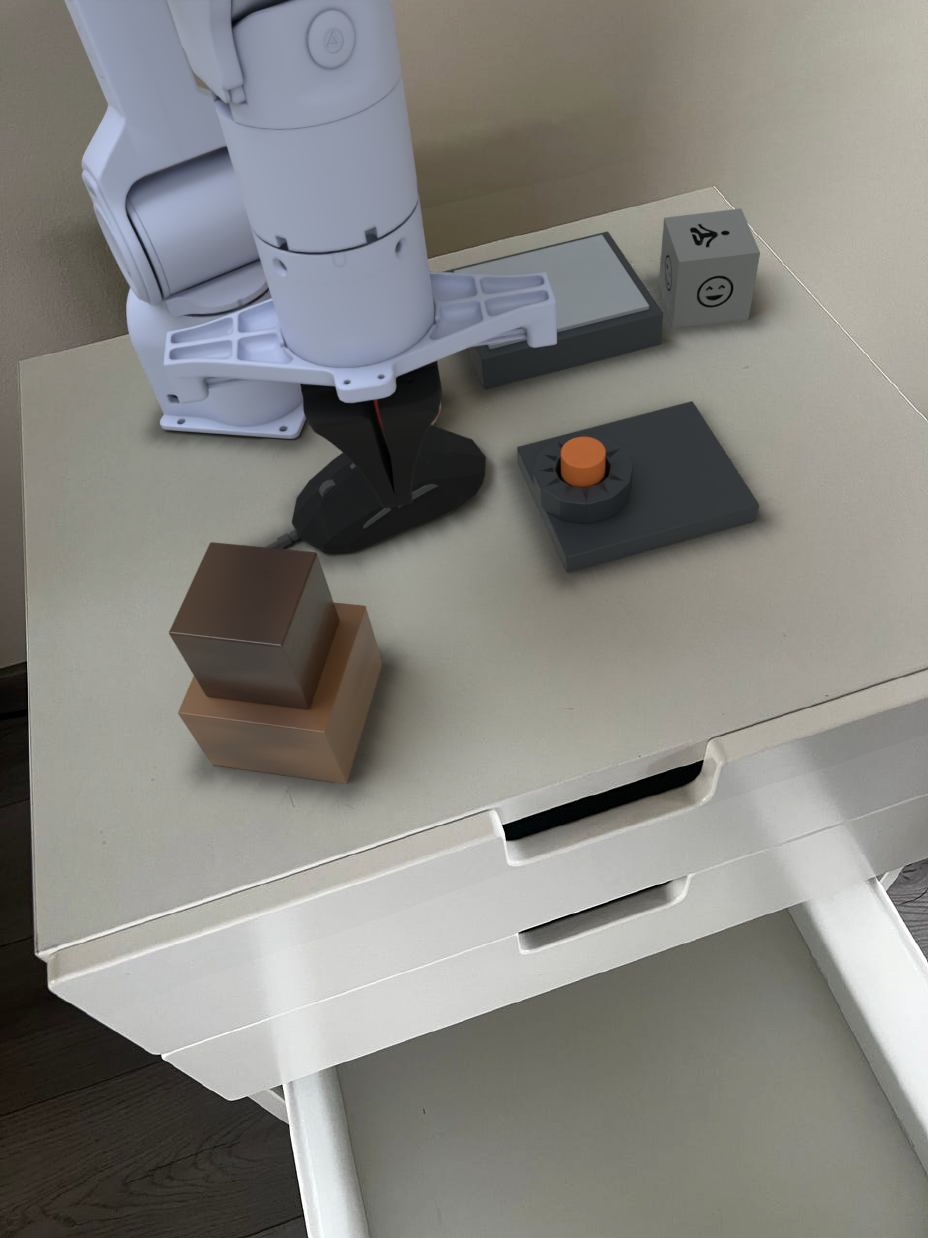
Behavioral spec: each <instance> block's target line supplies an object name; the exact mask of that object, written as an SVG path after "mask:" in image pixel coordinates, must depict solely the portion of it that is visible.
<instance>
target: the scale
mask: <svg viewBox="0 0 928 1238" xmlns="http://www.w3.org/2000/svg"><path fill="white" fill-rule="evenodd" d="M442 272H450V273H469V274H489V275H521V274H532V273H540V272H547V274H548V277H549V280H550V283H551V287H552V290H553V293H554V296H555V299H556V318H557V344H555V345H549V346H543V347H537V348H533V347H530V346H529V345H528V344H527V338H525V339H518V340H512V341H506V342H500V343H493V344H487V345H481V346H474V347H469V348H466V349H465V350H466V351H467V353H468V356H469V358H470V360H471V363H472V364H473V365H472V366H473V367H474V370H475V371H476V374H477V376H478V378H479V381H480V384H481V385H482V387H483V389H484V390H489V389H492V388H493V389H494V388H497V387H500V386H505V385H508V384H513V383H515V382H521V381H525V380H528V379H533V378H536V377H541V376H544V375H549V374H552V373H557V372H559V371H563V370H567V369H571V368H575V367H579V366H582V365H583V366H584V365H586V364H591V363H595V362H598V361H603V360H607V359H611V358H614V357H618V356H622V355H625V354H629V353H634V352H637V351H641V350H645V349H649V348H653V347H657V346H661V342H662V334H663V333H662V332H663V319H664V312H663V311H662V309H661V307H660V305H658V304H657V302H656V301H655V299H654V297H653V296H652V294H651V293H650V291H649V290H648V289H647V287H646V286H645V284H644V283H643V281H642V280H641V278H640V277H639V275H638V274H637V272H636V271H635V269H634V267H633V266H632V265H631V263H630V262H629V260H628V259H627V257H626V256H625V254H624V253H623V252H622V250H621V249H620V247H619V245H618V244H617V242H616V241H615V239H614V238H613V237H612V235H611V233H610V232H609V231H603V232H599V233H594V234H591V235H587V236H583V237H579V238H575V239H571V240H566V241H563V242H562V241H561V242H558V243H553V244H550V245H546V246H541V247H537V248H534V249H533V248H532V249H529V250H526V251H522V252H517V253H513V254H508V255H504V256H501V257H500V256H499V257H496V258H493V259H488V260H485V261H480V262H477V263H472V264H468V265H463V266H460V267H455V268H452V269H448V270H443V271H442Z"/></svg>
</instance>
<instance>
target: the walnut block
mask: <svg viewBox="0 0 928 1238" xmlns="http://www.w3.org/2000/svg"><path fill="white" fill-rule="evenodd" d="M195 572H196V573H195V574H194V576H193V579H192V581H191V583H190V585H189V587H188V590H187V592H186V594H185V596H184V598H183V601H182V603H181V605H180V607H179V609H178V611H177V613H176V616H175V618H174V620H173V622H172V625H171V627H170V629H169V631H168V635H169V637H170V638H171V640H172V641H173V643H174V645H175V647H176V648H177V650H178V651H179V654H180V655H181V657H182V658H183V660H184V662H185V663H186V665H187V667H188V669H189V670H190V672H191V674H192V675H193V676H194V677H195V679H196V680H197V682H198V684H199V685H200V687H201V689H202V690H203V692H204V694H205V695H206V696H208V697H216V698H223V699H231V700H239V701H247V702H254V703H262V704H270V705H277V706H285V707H293V708H300V709H310V706H311V704H312V701H313V698H314V695H315V692H316V689H317V686H318V683H319V680H320V677H321V674H322V671H323V668H324V665H325V662H326V659H327V656H328V653H329V650H330V647H331V644H332V641H333V638H334V635H335V632H336V629H337V626H338V623H339V617H338V614H337V611H336V608H335V605H334V599H333V595H332V593H331V590H330V587H329V584H328V581H327V578H326V575H325V572H324V570H323V567H322V563H321V561H320V558H319V555H318V553H317V551H307V550H297V549H296V550H295V549H285V548H267V547H266V546H256V545H255V546H254V545H247V544H245V545H244V544H233V543H226V542H225V543H223V542H215V541H214V542H211V541H210V542H209V544H208V545H207V548H206V551H205V552H204V555H203V557H202V559H201V561H200V564H199V566H198V568H197V570H196V571H195Z"/></svg>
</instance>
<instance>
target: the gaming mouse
mask: <svg viewBox="0 0 928 1238" xmlns="http://www.w3.org/2000/svg"><path fill="white" fill-rule="evenodd" d="M382 430H383V434H384V437H385V433H384V429H383V428H382ZM385 440H386V437H385ZM386 443H387V440H386ZM387 446H388V444H387ZM388 450H389V448H388ZM486 463H487V456H486V454H485V453H483V451H482V450H481V448H479V446H478V445H477V444H476V442H475V441H474V440H473V438H469V437H466V436H464V435H461V434H458V433H455V432H453V431H450V430H447V429H444V428H441V427H438V426H435V425H430V427H429V429H428V431H427V433H426V435H425V437H424V440H423V442H422V445H421V448H420V451H419V454H418V457H417V461H416V466H415V470H414V476H413V484H412V498H413V502H412V503H411V504H409V505H402V506H396V507H390V508H383V507H382V506H381V504H380V501H379V499H378V497H377V496H376V494H375V492H374V490H373V489H372V487H371V486H370V484H369V483H368V481H367V480H366V478H365V477H364V476H363V474H362V473H361V472H360V471H359V469H358V468H357V467H356V466H355V465H354V463H353V462H352V461H351V460H350V459H349V458H348V457H347V456H346V455H345V454H344V453H343V452H341V453H340V454H339V455H337V456H336V457H335V458H333V459H332V460H331V461H330V462H328V463H327V464H326V465H325V466H324V467H323V468H322V469H321V470H320V471H318V472H317V473H316V474H315V475H314V476H313V477H312V478H310V479H309V480H308V482H307V483H306V485H305V486H304V487H303V488H302V490H301V491H300V493H299V494H298V495H297V497H296V500H295V504H294V509H293V513H292V519H291V524H292V526H293V528H294V529H293V530H291V531H289V533H284V534H282V535H280V536H278V537H277V538H276V541H274V542H272V543H270V544H268V545H266V546H265V547H267V548H277V549H280V548H281V549H285V548H286V547H288V546H290V545H291V544H293V542H296V541H299V540H300V539H301V540H303V541H304V542H305V543H307V544H309V545H311V546H312V547H315V548H316V549H317V550H319V551H321V552H323V553H325V554H329V553H330V554H331V553H344V552H345V553H346V552H347V553H348V552H353V551H357V550H359V549H362V548H365V547H367V546H370V545H373V544H376V543H378V542H381V541H383V540H386V539H389V538H391V537H393V536H395V535H398V534H400V533H403V532H405V531H407V530H410V529H413V528H415V527H418V526H420V525H424V524H426V523H429V522H431V521H434V520H436V519H438V518H440V517H443V516H445V515H448V514H450V513H451V512H454V511H456V510H457V509H458V508H460V507H461V506H463V505H464V504H465V503H466V502H467V501H469V500H471V499H472V498H473V497H474V496H475V495H477V493H478V491H479V490H480V488H481V487H482V486H483V483H484V479H485V475H486Z"/></svg>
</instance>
